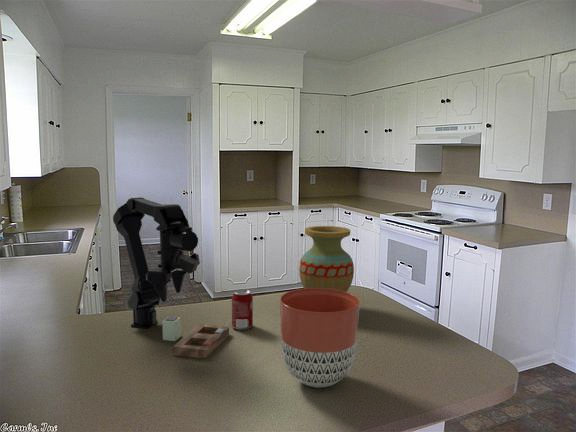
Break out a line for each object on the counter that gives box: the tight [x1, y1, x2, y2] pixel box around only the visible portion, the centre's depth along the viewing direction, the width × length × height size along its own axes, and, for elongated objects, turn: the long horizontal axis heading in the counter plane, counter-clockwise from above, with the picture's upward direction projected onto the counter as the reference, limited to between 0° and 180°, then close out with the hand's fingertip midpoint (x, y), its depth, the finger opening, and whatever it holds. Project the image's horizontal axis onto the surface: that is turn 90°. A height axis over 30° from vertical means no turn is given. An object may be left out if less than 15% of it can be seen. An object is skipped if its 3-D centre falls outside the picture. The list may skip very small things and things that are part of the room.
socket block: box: [172, 323, 230, 360], centre depth 137 cm, size 10×18×3 cm, turn 167°
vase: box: [298, 225, 355, 292], centre depth 167 cm, size 20×20×30 cm
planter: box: [279, 287, 361, 389], centre depth 114 cm, size 20×20×21 cm
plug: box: [162, 315, 182, 342], centre depth 141 cm, size 4×4×6 cm
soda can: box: [231, 288, 254, 331], centre depth 150 cm, size 7×7×12 cm
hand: (171, 296), depth 140 cm, fingers open, 9 cm apart
